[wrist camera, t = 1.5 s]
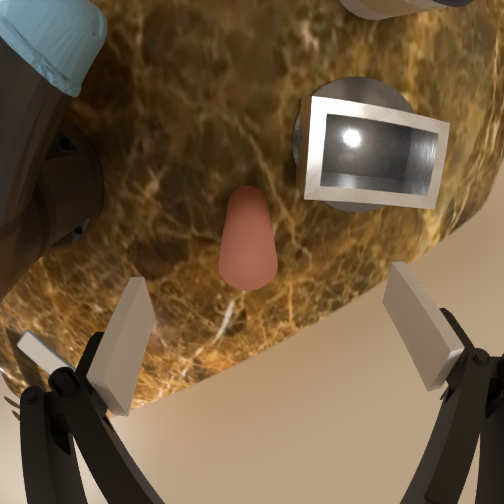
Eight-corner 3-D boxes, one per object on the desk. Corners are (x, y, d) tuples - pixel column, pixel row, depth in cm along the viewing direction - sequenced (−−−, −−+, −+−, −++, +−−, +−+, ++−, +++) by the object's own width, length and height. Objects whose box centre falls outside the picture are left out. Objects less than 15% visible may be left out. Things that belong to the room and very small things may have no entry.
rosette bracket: (286, 205, 31) (295, 230, 26) (295, 68, 24) (307, 61, 19) (405, 212, 31) (431, 236, 26) (424, 92, 25) (456, 95, 19)
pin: (228, 221, 32) (218, 290, 21) (228, 185, 30) (217, 238, 19) (266, 222, 32) (275, 291, 21) (268, 186, 30) (280, 240, 20)
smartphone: (26, 329, 40) (89, 382, 46) (29, 325, 41) (91, 378, 46) (15, 345, 43) (72, 392, 48) (17, 342, 43) (74, 389, 49)
